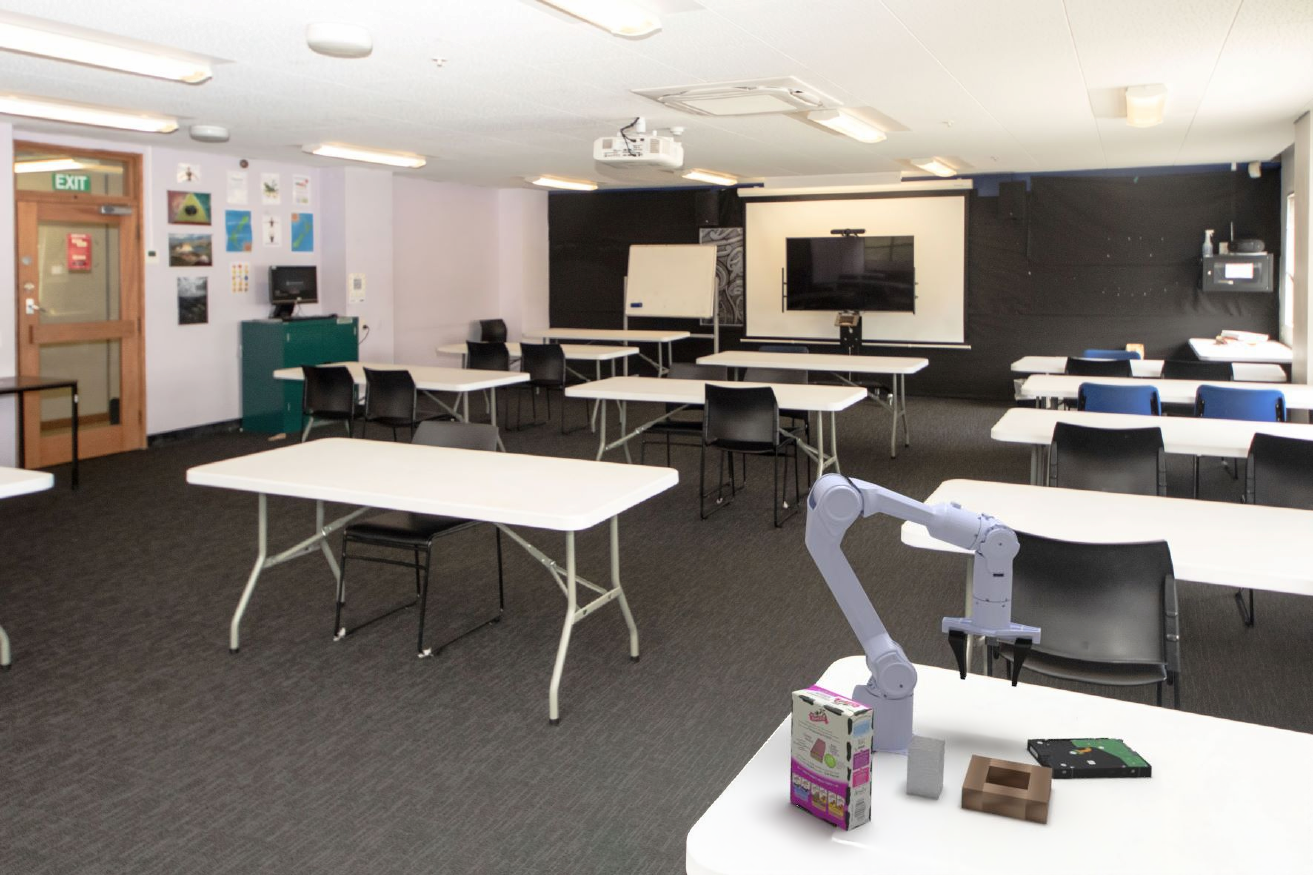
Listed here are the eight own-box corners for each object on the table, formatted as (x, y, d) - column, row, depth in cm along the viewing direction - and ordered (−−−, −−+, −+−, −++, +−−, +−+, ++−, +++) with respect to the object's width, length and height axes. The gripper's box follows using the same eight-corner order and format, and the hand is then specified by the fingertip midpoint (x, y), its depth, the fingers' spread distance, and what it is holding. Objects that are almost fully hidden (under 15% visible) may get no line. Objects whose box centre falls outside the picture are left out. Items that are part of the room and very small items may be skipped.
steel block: (906, 794, 148) (907, 747, 147) (912, 780, 152) (913, 735, 151) (938, 800, 146) (939, 752, 145) (943, 786, 150) (944, 740, 149)
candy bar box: (873, 823, 141) (876, 707, 139) (847, 835, 138) (850, 716, 136) (813, 791, 150) (815, 682, 147) (788, 802, 147) (789, 690, 144)
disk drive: (1053, 786, 152) (1152, 783, 153) (1053, 768, 152) (1153, 765, 153) (1025, 755, 163) (1119, 752, 163) (1025, 738, 162) (1119, 735, 163)
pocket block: (961, 811, 144) (962, 787, 144) (971, 776, 154) (972, 754, 154) (1046, 827, 140) (1047, 802, 139) (1051, 791, 150) (1052, 768, 149)
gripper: (939, 598, 161) (937, 683, 163) (1039, 609, 155) (1036, 696, 157) (946, 586, 167) (944, 667, 169) (1043, 596, 162) (1039, 680, 164)
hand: (988, 680), depth 164 cm, fingers open, 7 cm apart
